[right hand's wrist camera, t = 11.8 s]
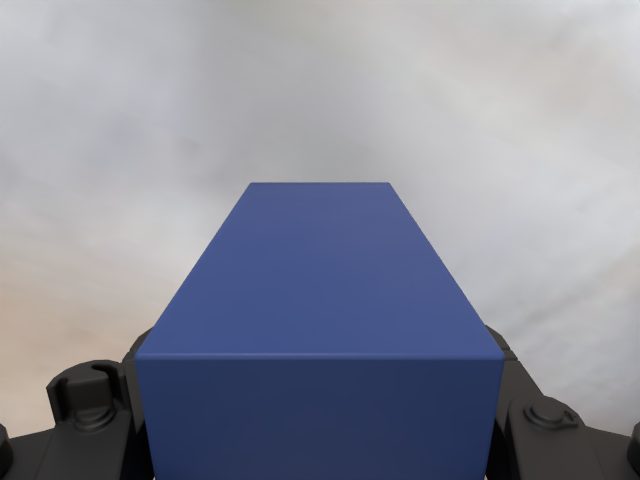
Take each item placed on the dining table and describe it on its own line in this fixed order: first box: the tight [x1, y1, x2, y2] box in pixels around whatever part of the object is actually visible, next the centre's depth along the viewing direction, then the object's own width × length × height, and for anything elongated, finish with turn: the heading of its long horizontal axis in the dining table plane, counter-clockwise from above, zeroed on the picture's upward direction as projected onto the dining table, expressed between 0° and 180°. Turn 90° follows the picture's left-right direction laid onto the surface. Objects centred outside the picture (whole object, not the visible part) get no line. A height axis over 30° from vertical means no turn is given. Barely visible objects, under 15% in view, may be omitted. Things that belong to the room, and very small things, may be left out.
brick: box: [134, 183, 505, 480], centre depth 12 cm, size 5×6×11 cm
